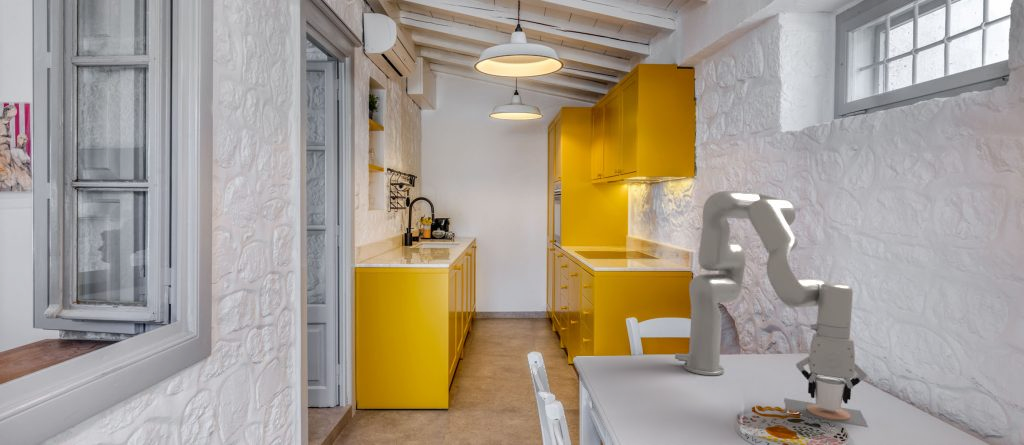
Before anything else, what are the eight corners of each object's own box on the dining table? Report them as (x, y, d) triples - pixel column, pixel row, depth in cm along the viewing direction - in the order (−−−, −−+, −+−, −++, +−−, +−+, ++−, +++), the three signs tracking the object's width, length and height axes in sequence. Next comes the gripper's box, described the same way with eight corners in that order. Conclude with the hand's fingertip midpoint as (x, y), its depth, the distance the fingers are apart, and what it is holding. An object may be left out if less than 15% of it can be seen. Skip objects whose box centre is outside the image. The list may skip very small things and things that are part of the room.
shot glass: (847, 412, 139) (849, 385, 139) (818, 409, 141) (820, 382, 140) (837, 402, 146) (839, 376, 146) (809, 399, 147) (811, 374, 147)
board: (786, 418, 142) (786, 413, 142) (784, 403, 153) (784, 398, 153) (868, 433, 135) (868, 427, 135) (859, 416, 146) (860, 410, 146)
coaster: (808, 415, 141) (808, 413, 141) (804, 402, 150) (805, 401, 150) (853, 423, 137) (853, 421, 137) (847, 409, 146) (847, 408, 146)
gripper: (796, 329, 143) (792, 397, 143) (875, 339, 136) (870, 410, 136) (794, 324, 149) (790, 388, 150) (869, 332, 142) (865, 400, 143)
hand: (828, 398), depth 143 cm, fingers closed on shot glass, 6 cm apart
